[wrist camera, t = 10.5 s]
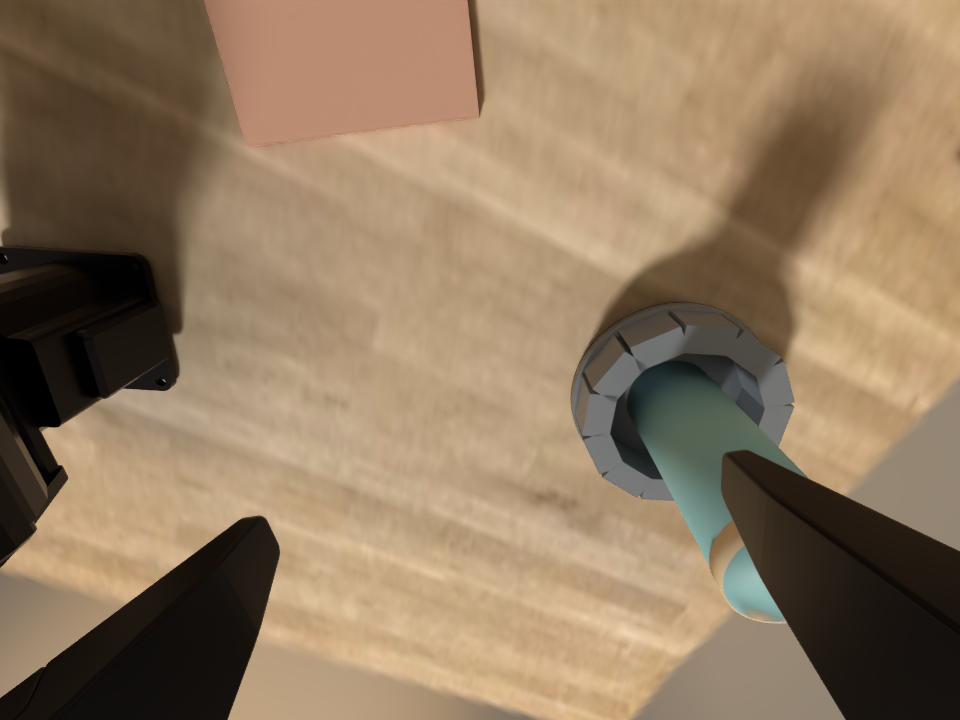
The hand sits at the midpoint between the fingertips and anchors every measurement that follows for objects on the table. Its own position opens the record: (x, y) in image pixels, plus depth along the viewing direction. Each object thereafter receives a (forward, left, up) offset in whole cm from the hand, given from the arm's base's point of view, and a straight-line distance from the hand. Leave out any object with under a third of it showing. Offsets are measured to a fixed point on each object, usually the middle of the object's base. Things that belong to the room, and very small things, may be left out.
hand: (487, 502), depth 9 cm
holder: (+9, -4, -13) cm, 16 cm away
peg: (+9, -4, -12) cm, 16 cm away
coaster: (-6, +11, -13) cm, 18 cm away
